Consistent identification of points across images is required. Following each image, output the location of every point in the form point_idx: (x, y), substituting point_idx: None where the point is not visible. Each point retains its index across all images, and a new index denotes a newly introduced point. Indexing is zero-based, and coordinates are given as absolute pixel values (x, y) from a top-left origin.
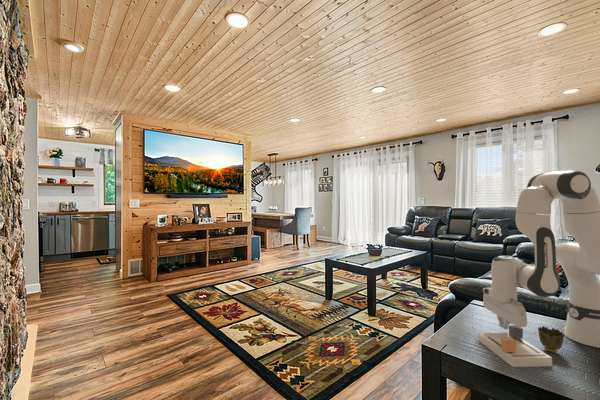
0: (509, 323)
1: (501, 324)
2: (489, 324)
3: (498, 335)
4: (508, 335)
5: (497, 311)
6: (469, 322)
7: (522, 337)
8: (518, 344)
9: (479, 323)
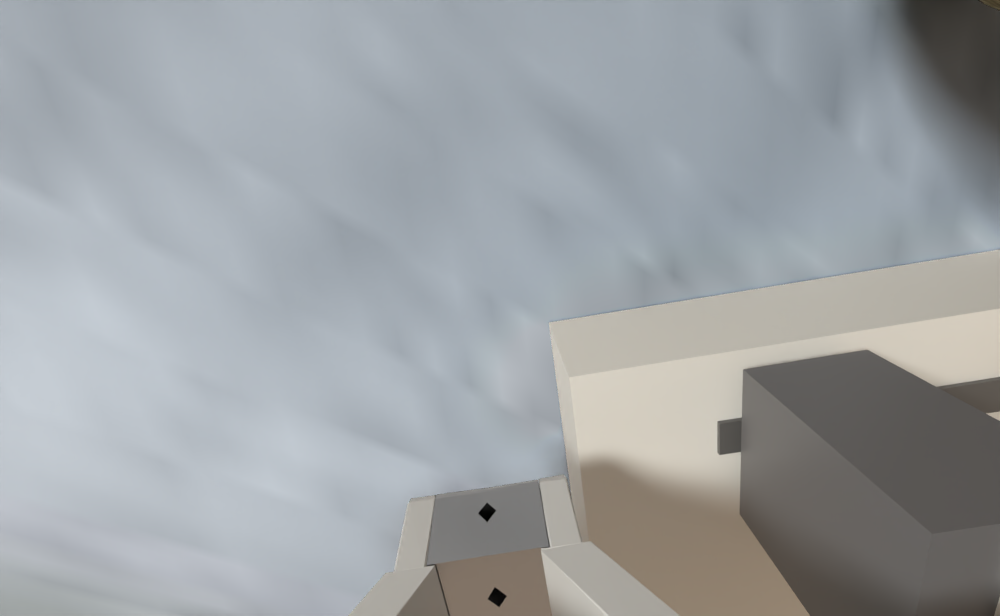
0: (645, 594)
1: (501, 613)
2: (25, 389)
3: (680, 613)
4: (685, 487)
5: None
6: (74, 612)
7: (882, 361)
8: None
9: (52, 510)
